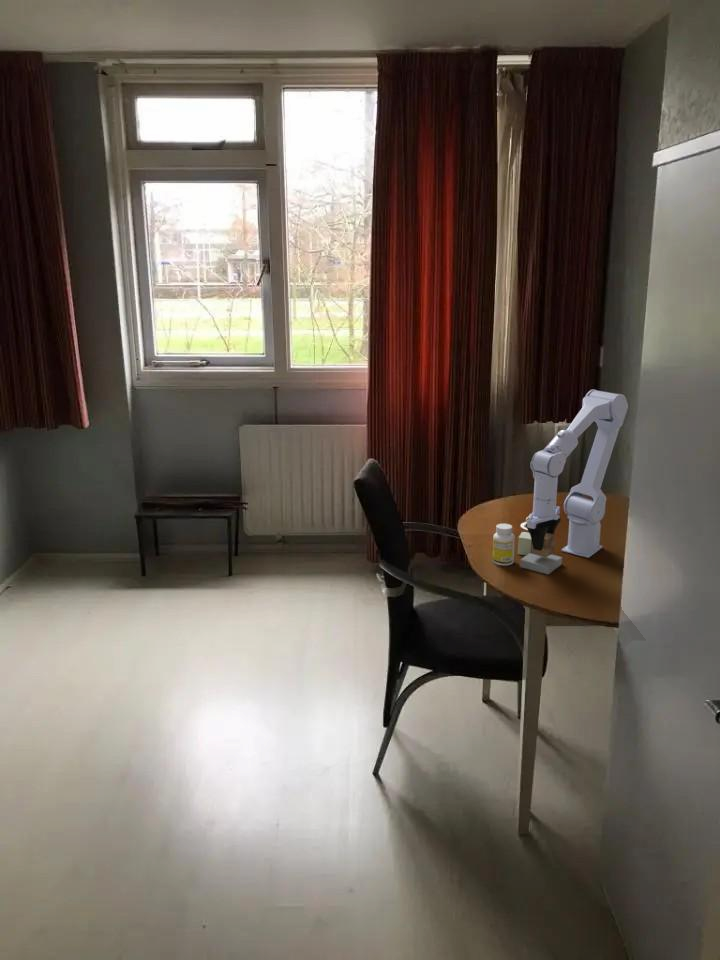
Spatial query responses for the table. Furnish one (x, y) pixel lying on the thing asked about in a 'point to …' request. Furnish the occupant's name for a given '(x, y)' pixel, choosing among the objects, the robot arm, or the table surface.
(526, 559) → the slate slab
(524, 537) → the sage block
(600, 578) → the table surface
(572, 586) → the table surface
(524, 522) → the teacup and saucer
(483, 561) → the table surface
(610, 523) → the table surface
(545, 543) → the walnut block
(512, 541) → the supplement bottle
